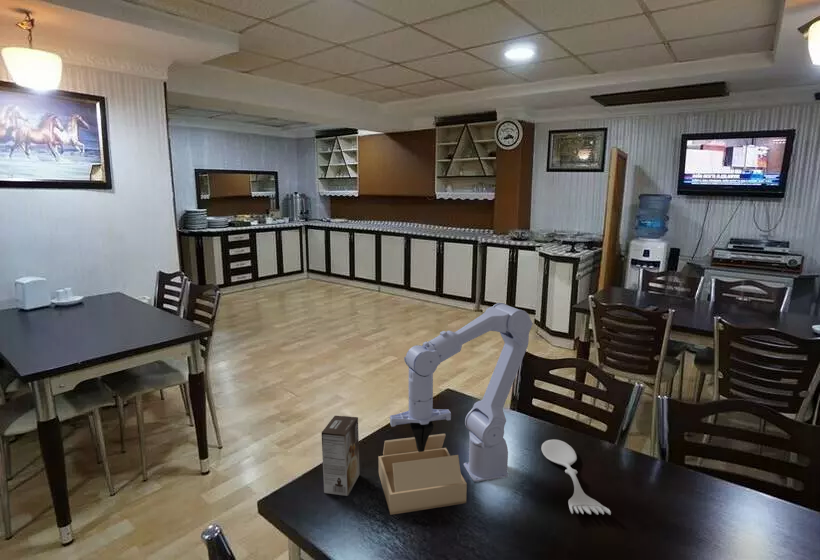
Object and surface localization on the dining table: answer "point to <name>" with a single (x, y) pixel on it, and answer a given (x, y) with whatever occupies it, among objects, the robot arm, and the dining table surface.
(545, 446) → the spoon
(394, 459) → the carton
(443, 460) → the near flap
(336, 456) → the coffee box
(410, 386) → the robot arm
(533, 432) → the dining table surface
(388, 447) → the far flap
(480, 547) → the dining table surface
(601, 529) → the dining table surface
